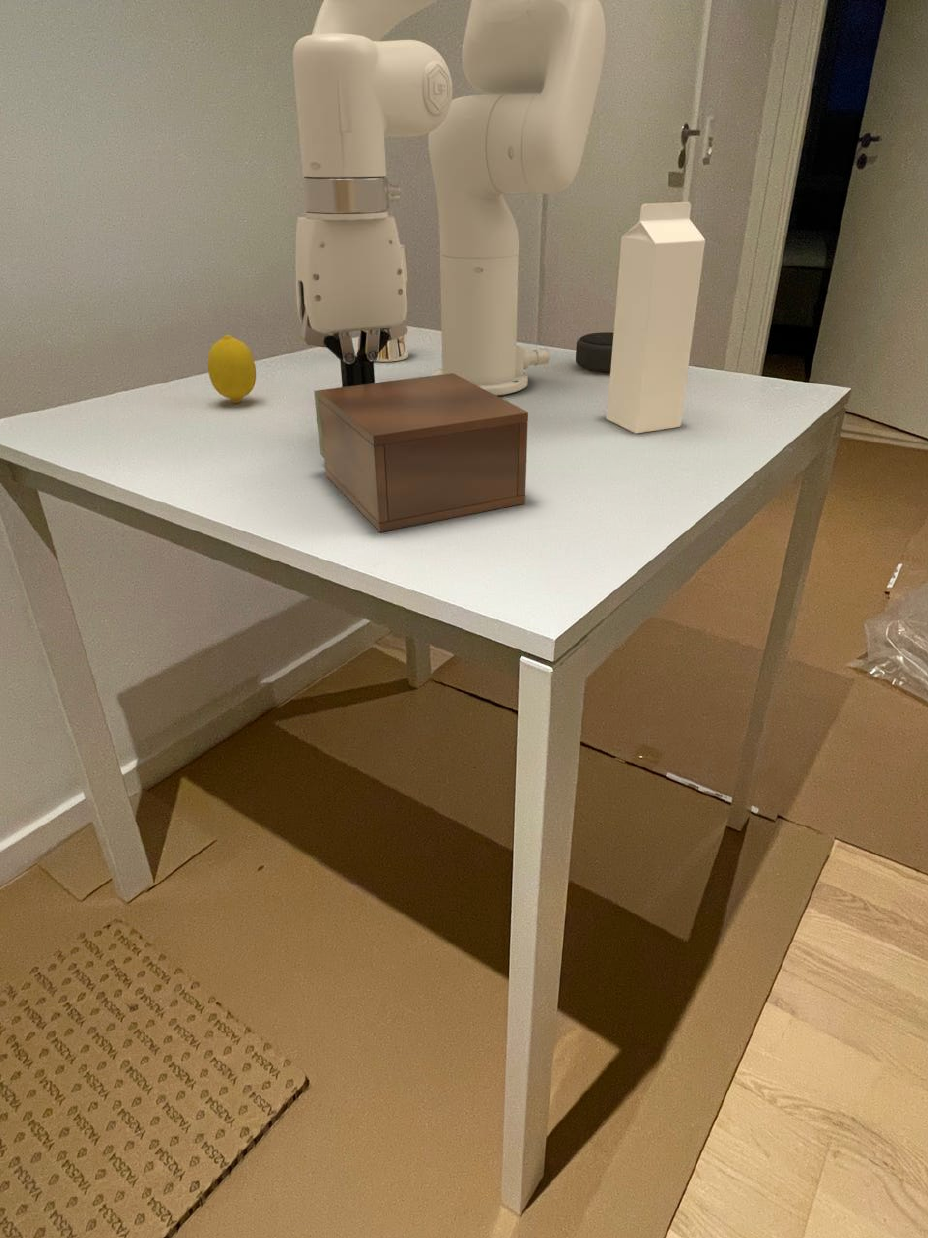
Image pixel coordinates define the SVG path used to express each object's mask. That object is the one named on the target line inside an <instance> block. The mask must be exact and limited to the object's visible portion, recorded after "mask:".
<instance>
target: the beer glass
mask: <svg viewBox="0 0 928 1238" xmlns="http://www.w3.org/2000/svg"><path fill="white" fill-rule="evenodd" d="M400 246H401V251H402V258H403V265H404V274H405V284H406V297H407V298H408V296H409V270H408V261H407V260H408V259H407V251H406V244H404V243H400ZM408 357H409V351H408V346H407V343H406V335H404V336H402V337H399V338H397V339H394V340H392V341H391V340H390V341H388V342H387V344H386V345H385V346H384V347H383V349H382V350H381V351H380V352H379V354H378V358H377V360H376V361H375V362H380V363H391V362H401V361H404V360H406V359H407V358H408Z"/></svg>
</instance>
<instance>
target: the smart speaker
mask: <svg viewBox="0 0 928 1238" xmlns="http://www.w3.org/2000/svg"><path fill="white" fill-rule="evenodd" d="M613 334H614V332H609V331H607V332H604V331H602V332H593V333H587V334H584V335H582V336H580V337H579V338H578V339H577V341H576V349H575V363H576V365H577V366H578V367H579V368H581V369H583V370H585V371H587V372H590V373H596V374H597V373H598V374H609V375H610V369H611V358H612V346H613Z"/></svg>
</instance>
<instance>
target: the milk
mask: <svg viewBox="0 0 928 1238" xmlns="http://www.w3.org/2000/svg"><path fill="white" fill-rule="evenodd" d="M639 210H640V211H639V218H638V222H636V224H634V226H632V227H631V228H630V229H629V230H628V231H626V233H624V234H623V235H622V237H621V239H620V252H619V262H618V263H619V265H618V274H617V276H618V277H617V287H616V300H615V311H614V321H613V324H614V325H613V333H614V334H613V346H612V358H611V369H610V374H609V382H608V396H607V407H606V420H608V421H610V422H612V423H613V424H616V425H617V426H619V427H621V428H623V429H626V430H627V431H629V432H632V433H633V434H642V433H643V434H644V433H650V432H654V431H662V430H668V429H675V428H680V427H681V426H682V418H683V411H684V404H685V396H686V388H687V382H688V381H687V379H688V374H689V366H690V357H691V351H692V342H693V336H694V329H695V328H694V327H695V320H696V313H697V306H698V305H697V304H698V297H699V290H700V284H701V283H700V281H701V275H702V266H703V260H704V251H705V244H706V239H705V237H704V236H703V235H702V234H701V232H700V231H699V229H698V228H697V227H696V225H695V224H694V223H693V222H692V220H691V210H692V203H691V202H690V201H679V202H677V201H676V202H656V203H655V202H654V203H643V204H641V206H640V209H639Z"/></svg>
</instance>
